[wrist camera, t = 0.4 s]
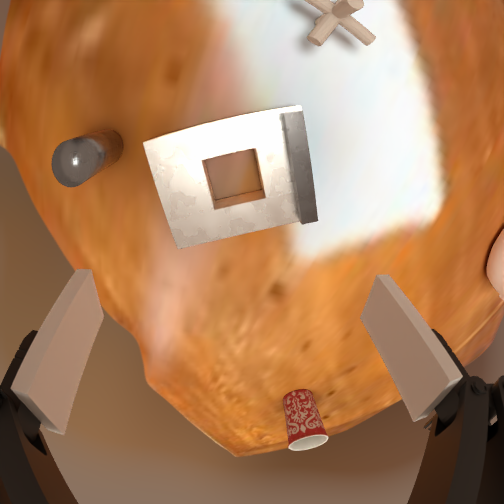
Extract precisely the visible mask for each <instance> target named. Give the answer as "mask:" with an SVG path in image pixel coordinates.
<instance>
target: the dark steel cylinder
mask: <svg viewBox="0 0 504 504" xmlns="http://www.w3.org/2000/svg"><path fill="white" fill-rule="evenodd" d="M122 152H123V141H122V138H121V136H120V135H119V134H118V133H117V132H116V131H114V130H111V129H104V130H100V131H97V132H93V133H90V134H86V135H83V136H80V137H76V138H73V139H70V140H67V141H64V142H62V143H61V144H60V145H59V146H58V147H57V148H56V150H55V151H54V154H53V157H52V170H53V173H54V176H55V177H56V179H57V180H58V181H59V182H60V183H61V184H62V185H64V186H67V187H76V186H79V185H80V184H82V183H83V182H85V181H86V180H88V179H89V178H91V177H92V176H94V175H95V174H97V173H99V172H100V171H102V170H103V169H105V168H106V167H108V166H110V165H111V164H113V163H115V162H116V161H117V160H118V159H119V158H120V156H121V154H122Z"/></svg>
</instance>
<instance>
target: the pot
mask: <svg viewBox="0 0 504 504" xmlns="http://www.w3.org/2000/svg"><path fill="white" fill-rule="evenodd" d="M487 276H488V279H489V281H490V282H491V284H492V286H493V287H494V289H495V290H496V291H497V292H498V293H499V297H500V298H501V299H502V300H503V301H504V229H503V230H502V232H501V233H500V235H499V236H498V238H497V240H496V241H495V243H494V245H493V246H492V249H491V252H490V255H489V258H488V263H487Z"/></svg>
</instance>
